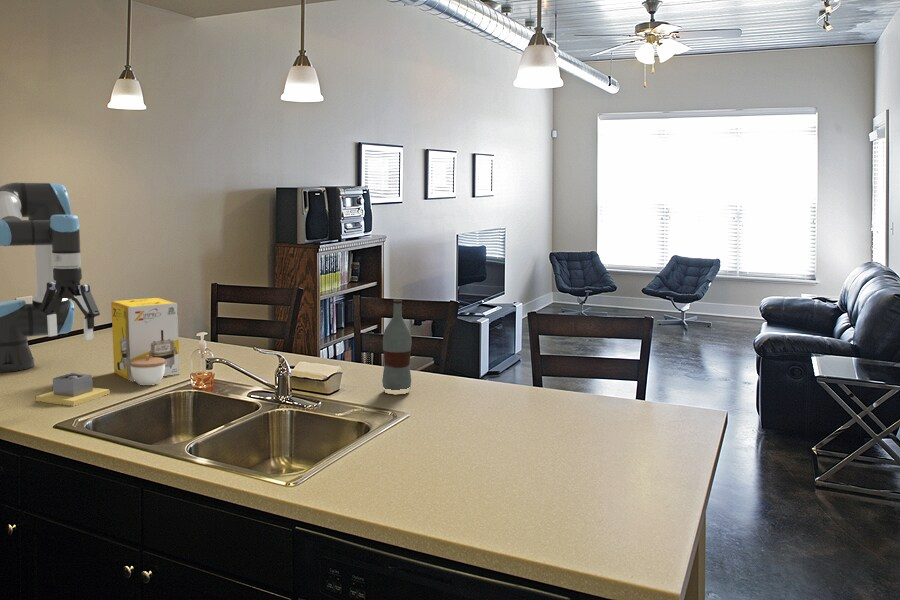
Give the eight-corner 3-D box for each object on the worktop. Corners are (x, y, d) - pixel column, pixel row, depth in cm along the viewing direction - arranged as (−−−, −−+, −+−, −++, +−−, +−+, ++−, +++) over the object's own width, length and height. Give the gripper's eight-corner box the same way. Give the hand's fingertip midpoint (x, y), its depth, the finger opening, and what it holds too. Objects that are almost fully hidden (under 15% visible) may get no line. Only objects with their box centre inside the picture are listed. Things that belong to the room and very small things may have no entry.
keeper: (36, 401, 220) (35, 379, 219) (73, 389, 233) (72, 369, 232) (73, 406, 215) (72, 384, 215) (109, 394, 229) (108, 373, 228)
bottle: (413, 389, 242) (414, 298, 238) (408, 396, 233) (410, 302, 229) (385, 387, 243) (385, 297, 239) (379, 395, 234) (380, 301, 230)
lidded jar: (128, 388, 236) (127, 359, 234) (133, 380, 246) (132, 352, 245) (164, 387, 238) (163, 358, 237) (167, 379, 249) (166, 351, 247)
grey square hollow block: (53, 394, 222) (52, 378, 221) (73, 388, 229) (72, 372, 228) (73, 397, 219) (72, 380, 219) (92, 391, 226) (92, 375, 226)
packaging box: (131, 381, 244) (128, 307, 241) (114, 372, 256) (111, 301, 253) (179, 374, 255) (177, 303, 252) (161, 366, 267) (158, 297, 263)
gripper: (23, 266, 219) (27, 336, 222) (91, 270, 211) (94, 343, 214) (44, 264, 226) (48, 332, 229) (110, 268, 218) (113, 338, 221)
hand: (70, 337), depth 222 cm, fingers open, 13 cm apart
